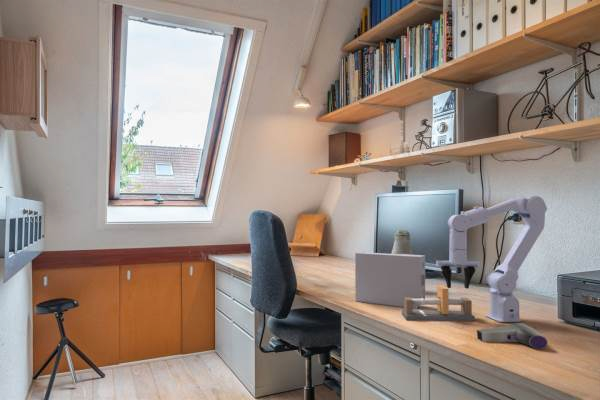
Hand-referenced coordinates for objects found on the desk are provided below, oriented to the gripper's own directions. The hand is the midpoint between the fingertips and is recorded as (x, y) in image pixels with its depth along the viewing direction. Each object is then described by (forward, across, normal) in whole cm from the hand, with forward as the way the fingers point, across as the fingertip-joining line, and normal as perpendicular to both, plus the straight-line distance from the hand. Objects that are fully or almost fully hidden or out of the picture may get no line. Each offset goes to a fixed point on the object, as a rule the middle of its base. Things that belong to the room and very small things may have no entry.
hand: (457, 287), depth 150 cm
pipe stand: (+10, +7, 0) cm, 13 cm away
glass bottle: (+11, +10, -50) cm, 52 cm away
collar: (+8, +5, 0) cm, 10 cm away
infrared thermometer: (+11, -6, +28) cm, 31 cm away
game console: (+11, +20, -22) cm, 31 cm away
